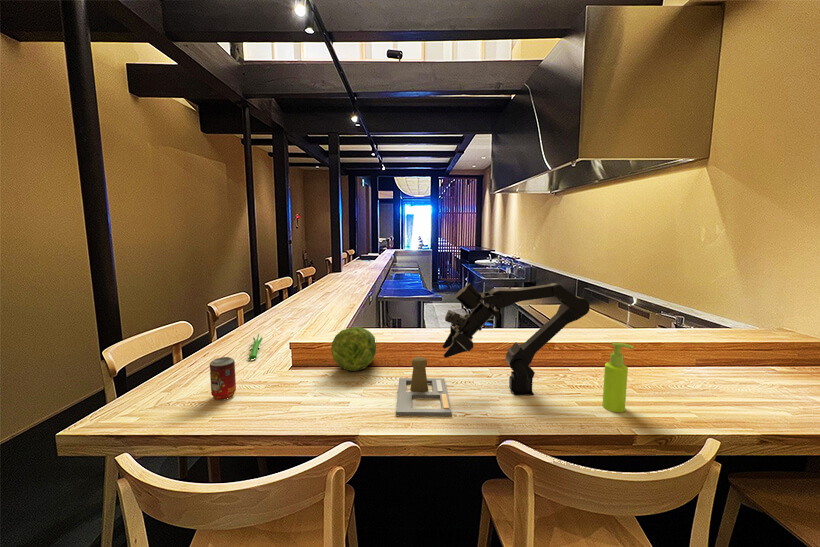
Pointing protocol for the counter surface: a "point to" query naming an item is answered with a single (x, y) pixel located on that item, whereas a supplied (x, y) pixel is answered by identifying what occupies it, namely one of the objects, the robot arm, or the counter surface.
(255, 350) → the green onion
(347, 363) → the lettuce
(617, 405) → the soap dispenser
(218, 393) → the soda can
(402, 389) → the panel
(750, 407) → the counter surface
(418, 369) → the cork
